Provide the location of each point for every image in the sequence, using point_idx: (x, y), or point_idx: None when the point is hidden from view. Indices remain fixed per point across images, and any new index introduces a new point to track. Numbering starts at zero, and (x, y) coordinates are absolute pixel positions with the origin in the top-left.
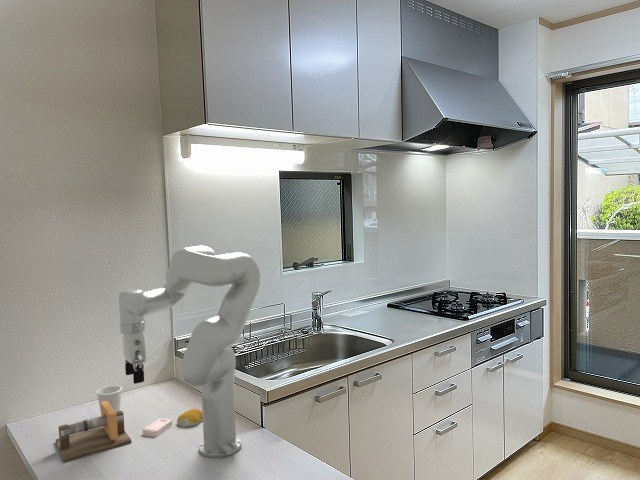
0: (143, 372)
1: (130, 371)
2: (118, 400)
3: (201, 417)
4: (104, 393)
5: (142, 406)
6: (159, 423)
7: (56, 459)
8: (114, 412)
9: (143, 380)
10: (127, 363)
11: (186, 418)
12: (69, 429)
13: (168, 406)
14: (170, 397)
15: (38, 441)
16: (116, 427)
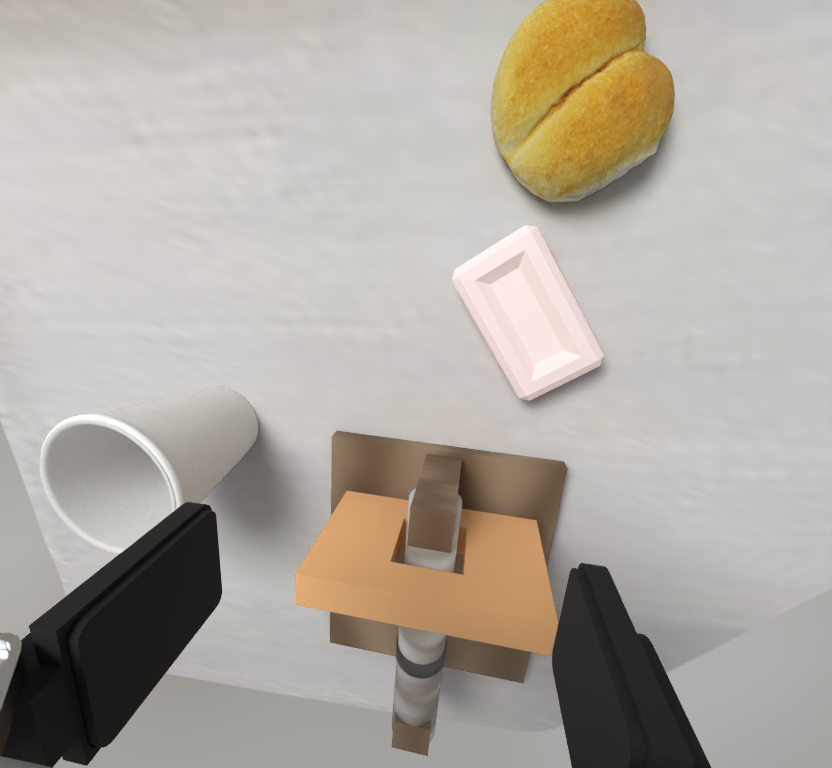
0: (665, 702)
1: (192, 586)
2: (197, 431)
3: (645, 31)
4: (91, 478)
5: (176, 259)
6: (509, 299)
7: (476, 674)
8: (536, 625)
9: (606, 581)
10: (83, 742)
11: (635, 150)
12: (434, 714)
13: (257, 136)
14: (128, 66)
15: (287, 658)
16: (543, 560)
